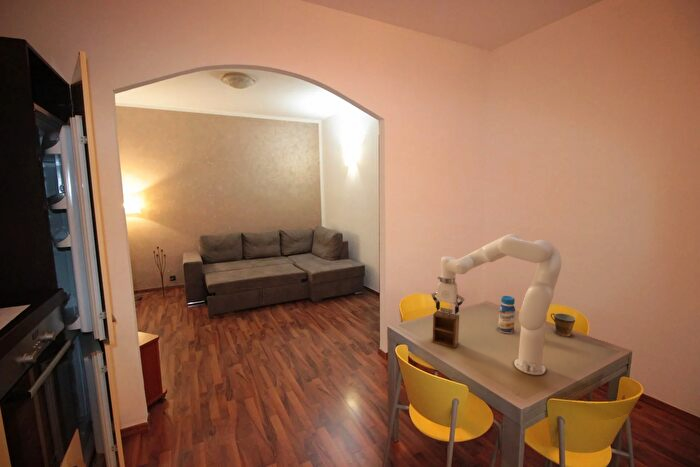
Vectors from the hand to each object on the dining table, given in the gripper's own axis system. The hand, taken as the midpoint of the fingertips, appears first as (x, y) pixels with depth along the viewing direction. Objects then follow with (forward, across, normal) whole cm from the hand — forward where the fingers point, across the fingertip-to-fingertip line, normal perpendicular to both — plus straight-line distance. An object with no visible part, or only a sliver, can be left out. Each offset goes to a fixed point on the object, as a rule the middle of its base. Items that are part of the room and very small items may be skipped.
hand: (447, 311), depth 169 cm
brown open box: (+18, -1, 0) cm, 18 cm away
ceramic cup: (+19, +51, +47) cm, 71 cm away
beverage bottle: (+18, +24, +33) cm, 45 cm away
